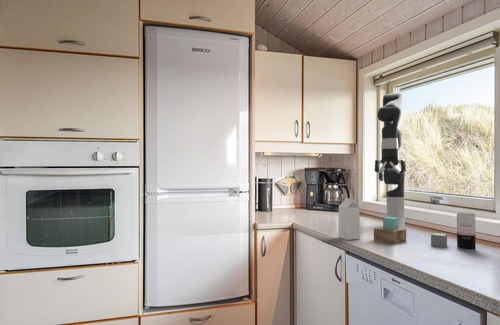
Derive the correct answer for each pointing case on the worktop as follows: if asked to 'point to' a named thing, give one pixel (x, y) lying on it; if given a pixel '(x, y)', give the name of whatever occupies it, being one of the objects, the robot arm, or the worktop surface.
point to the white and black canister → (466, 231)
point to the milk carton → (349, 220)
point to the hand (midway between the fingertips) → (390, 181)
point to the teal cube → (390, 223)
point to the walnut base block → (390, 235)
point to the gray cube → (439, 240)
